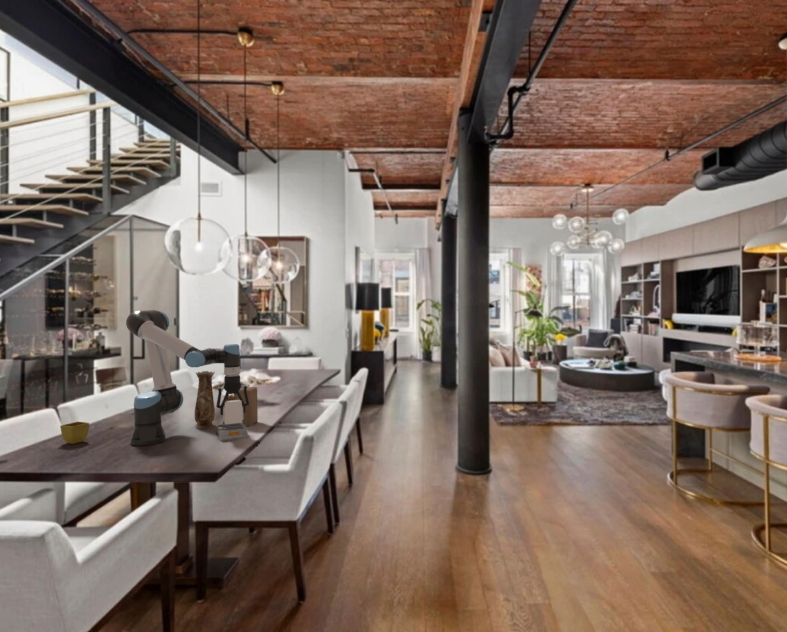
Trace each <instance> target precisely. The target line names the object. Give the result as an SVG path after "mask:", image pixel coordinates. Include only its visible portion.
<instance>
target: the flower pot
mask: <svg viewBox="0 0 787 632" xmlns="http://www.w3.org/2000/svg"><path fill="white" fill-rule="evenodd" d="M59 427H60V431H61V432H60V433H61V437H62V439H63V441H64V442H65V443H66V444H72V445H75V444H77V443H83V442H84V441H85V440H86V438H87V437H88V434H89V427H90V422H85V421H75V422H70V423H67V424H66V423H65V424H61V425H60V426H59Z"/></svg>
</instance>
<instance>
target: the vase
mask: <svg viewBox="0 0 787 632" xmlns="http://www.w3.org/2000/svg"><path fill="white" fill-rule="evenodd" d="M215 373H216V372H215V371H209V370H203V371H198V372H195V374H196V377H197V378H198V385H197V387H198V388H197V393H196V402H195V406H194V419H195V420H194V421H195V423H196V425H195V428H197V429H207V428H212V427H213V426H214V425H213V422H214V420H215V415H216V413H215V412H216V410H215V403H214V402H215V401H214V395H213V393H214V392H213V381H212V380H213V377H214V374H215Z"/></svg>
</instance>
